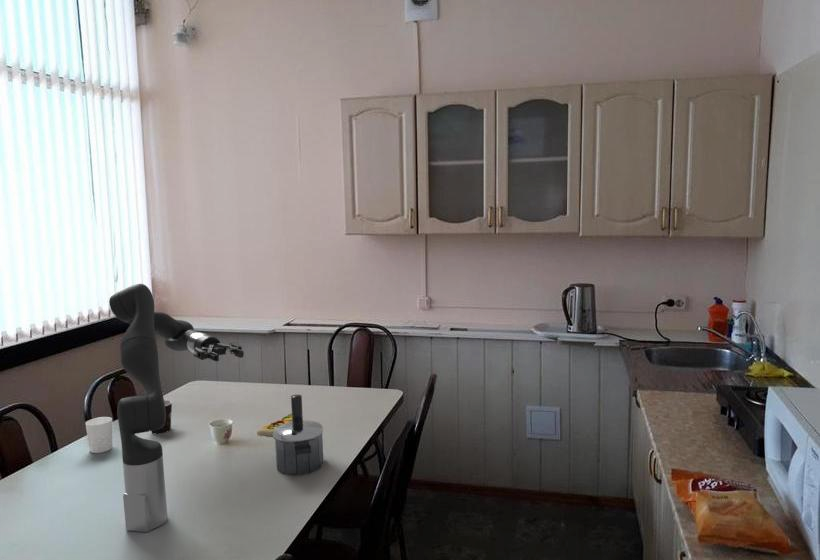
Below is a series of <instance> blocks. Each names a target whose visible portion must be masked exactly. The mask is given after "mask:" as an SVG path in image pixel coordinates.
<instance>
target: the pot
mask: <svg viewBox="0 0 820 560" xmlns="http://www.w3.org/2000/svg"><path fill="white" fill-rule="evenodd" d="M323 439H324V438H323V434H322V435H321V436H320V437H318V438H317V439H314V440H312V441H308V442H304V443H295V444H289V443H281V442H278V441H276V440H275V439H274V443H275V461H276V462H275V463H276V464H275V465H276V468H277V472H279V473H281V474H283V475H286V474H287V476H301V475H307V474H311V473H313V472H317V471H318V470H320V469H322V467H323V465H324V462H325V461H324V444H323V443H324V442H323Z"/></svg>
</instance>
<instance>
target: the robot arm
mask: <svg viewBox="0 0 820 560" xmlns="http://www.w3.org/2000/svg"><path fill="white" fill-rule="evenodd" d="M108 303H109V307H110V309H111V312H112V313H113V315H114V316H115V317H116V319H118V320H120V321H122V322H124V323H127V324H129V326H128V328H127V329H126V331H125V332H124V335H123V337H122V339H121V342H120V347H119V349H120V364H121V366H122V368H123V369H124V371H125V372H126V373H127V374H128V375H129V376H130V377H132V379H134V381H136V382H137V383H139V384H140V385H141V386H142V387H143V388H144V389H145V392H146V393H147V394H140V395H139V394H138V395H134V396H125V397H123V398H120V399H119V401H118V403H117V408H116V409H117V411H116V412H117V420H118V429H119V436H120V441H121V456H122V457H121V458H122V467H123V479H124V480H123V481H124V493H123V495H122V497H123V498H122V500H123V509H124V510H123V511H124V520H125V521H124V522H125V530H126V531H130V532H132V531H133V532H138V533H139V532H140V533H141V532H142V533H149V532H151V530H153V529H154V530H155V529H157V528H158V527H160V526H163V525H164V524H165V523H166V522H167V520H168V507H167V492H166V482H165V481H166V478H165V468H164V454H163V445H162V444H161V443H160V441H157V440H153V439H146V438H142V437H140V436H138V435H136V434H142V433H147V432H152V431H154V430H158V429H161V428H162V427H163V426H164V425H165V422H166V409H165V403H164V400H165V399H164V393H163V388H162V383H161V377H160V365H159V353H158V345H157V340H156V335H159V337H161V338H163V339H164V343H165V345H166V347H167V348H169V350H170V349H171V350H172V351H179V352H183V351H188V352H191V353H192V354H193V356H194V357H195V358H197V359H198V360H201V361H203V360H208V361H209V360H212V361H214V362H219V361H220V357H221V356H222V357H230V356H235V357H238V358H240V359H242V358H244V353H245V352H244V351H243V350H242V349H243V348H242V347H243V346H241V345H238V344H236V343H232V342H230V343H229V344H223V343H221V342H220V340H219V338H217V337H215V336H214V335H210V334H207V333H205V332H199V331H198V330H195V328H194V326H193V324H192V323H190V322H189V321H187V320H182V319H175V318H173V317H172V316H171V315H169V314H168V313H165V312H162V311H159V310H155V300H154V296H153V293H152V292H151V290H150V288H149V287H148V286H147V285H145V284H144V283H135V284H132V285H130V286H128V287H126V288H124V289H122V290H119V291H117V292H115V293H114V294H113V295H111V296H110V298H109V301H108Z"/></svg>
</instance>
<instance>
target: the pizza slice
mask: <svg viewBox="0 0 820 560" xmlns="http://www.w3.org/2000/svg"><path fill="white" fill-rule="evenodd" d="M288 422H292V413H290V414H288V415H286V416H283V417H282V418H281V419H280V420H276V421H274V422H271V423H270V424H268V425H265V426H262V427H261V429H258V430H257V431H256V434H257V436H261V435H263V437H272V436H273V430H274V429H275V428H276V427H277V426H279V425H281V424H284V423H288Z"/></svg>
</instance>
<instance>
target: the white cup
mask: <svg viewBox="0 0 820 560" xmlns="http://www.w3.org/2000/svg"><path fill="white" fill-rule="evenodd" d="M85 428H86V436H87V441H88V446H89V451H90V453H91V454H100V453H104V452H105V453H106V452H108V451H110V450H112V449H113V418H112V417H111V416H100V417H94V418H92V419H91V418H90V419H89V420H87V421H85Z"/></svg>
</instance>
